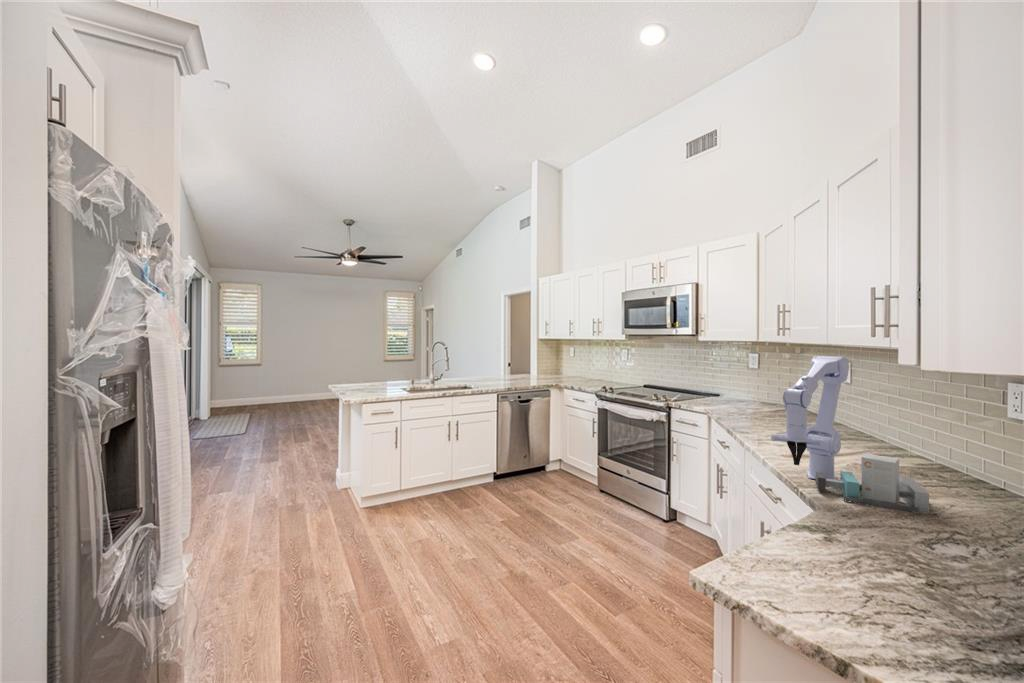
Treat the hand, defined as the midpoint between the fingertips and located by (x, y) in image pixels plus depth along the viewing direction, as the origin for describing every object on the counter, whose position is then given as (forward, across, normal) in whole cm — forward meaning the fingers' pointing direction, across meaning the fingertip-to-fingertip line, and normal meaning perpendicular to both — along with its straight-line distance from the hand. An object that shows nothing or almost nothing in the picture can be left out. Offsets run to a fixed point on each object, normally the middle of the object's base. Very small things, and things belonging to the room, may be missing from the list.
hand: (796, 464), depth 138 cm
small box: (+8, +22, 0) cm, 23 cm away
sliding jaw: (+7, +11, 0) cm, 13 cm away
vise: (+8, +22, 0) cm, 23 cm away
